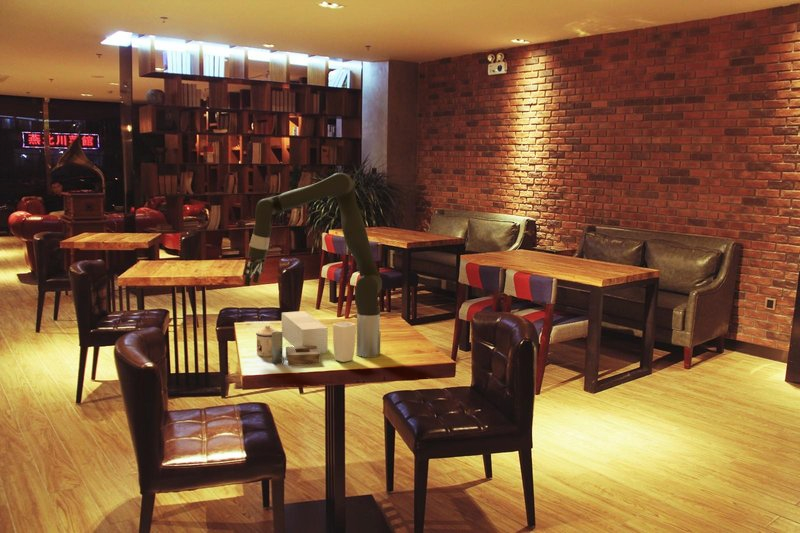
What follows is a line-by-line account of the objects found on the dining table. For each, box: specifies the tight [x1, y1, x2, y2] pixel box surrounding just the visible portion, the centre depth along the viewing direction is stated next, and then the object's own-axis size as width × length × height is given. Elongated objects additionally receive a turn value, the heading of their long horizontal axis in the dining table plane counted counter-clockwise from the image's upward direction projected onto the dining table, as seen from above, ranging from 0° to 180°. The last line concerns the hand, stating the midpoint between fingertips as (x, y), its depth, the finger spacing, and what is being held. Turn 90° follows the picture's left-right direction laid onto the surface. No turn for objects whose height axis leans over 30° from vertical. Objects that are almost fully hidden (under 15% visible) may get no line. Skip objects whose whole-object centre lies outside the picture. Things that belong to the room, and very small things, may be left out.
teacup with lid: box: [255, 324, 278, 357], centre depth 281 cm, size 12×9×12 cm
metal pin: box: [271, 330, 284, 365], centre depth 271 cm, size 4×4×12 cm
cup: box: [332, 321, 357, 363], centre depth 276 cm, size 7×7×15 cm
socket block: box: [285, 346, 321, 366], centre depth 276 cm, size 12×12×4 cm
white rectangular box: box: [281, 310, 329, 354], centre depth 299 cm, size 32×11×11 cm, turn 24°
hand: (251, 284), depth 288 cm, fingers open, 8 cm apart
